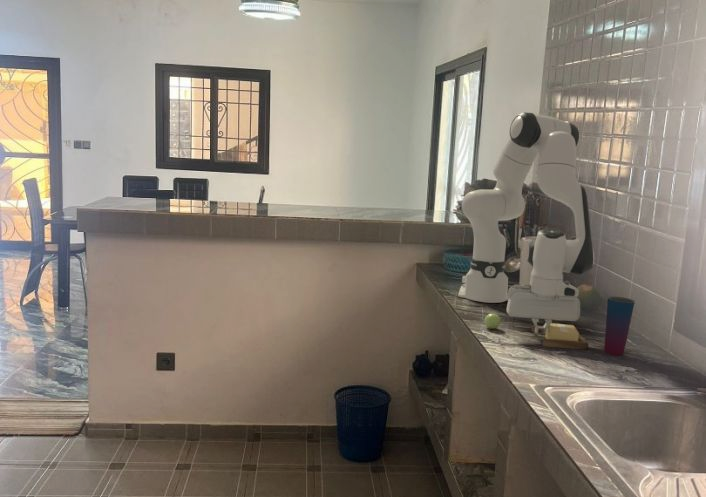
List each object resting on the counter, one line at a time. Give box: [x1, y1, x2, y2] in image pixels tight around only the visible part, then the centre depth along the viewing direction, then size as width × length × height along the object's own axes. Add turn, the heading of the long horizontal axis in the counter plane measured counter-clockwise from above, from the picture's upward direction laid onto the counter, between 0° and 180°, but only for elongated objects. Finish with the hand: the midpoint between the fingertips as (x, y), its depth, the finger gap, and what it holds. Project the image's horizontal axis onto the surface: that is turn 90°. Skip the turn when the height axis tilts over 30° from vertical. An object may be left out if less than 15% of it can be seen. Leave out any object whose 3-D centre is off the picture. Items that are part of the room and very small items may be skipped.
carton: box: [545, 322, 580, 341], centre depth 183 cm, size 8×8×4 cm
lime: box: [484, 313, 501, 330], centre depth 192 cm, size 5×5×5 cm
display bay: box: [530, 324, 590, 350], centre depth 185 cm, size 14×12×2 cm
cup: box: [603, 296, 636, 356], centre depth 176 cm, size 7×7×15 cm
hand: (540, 333), depth 185 cm, fingers closed
